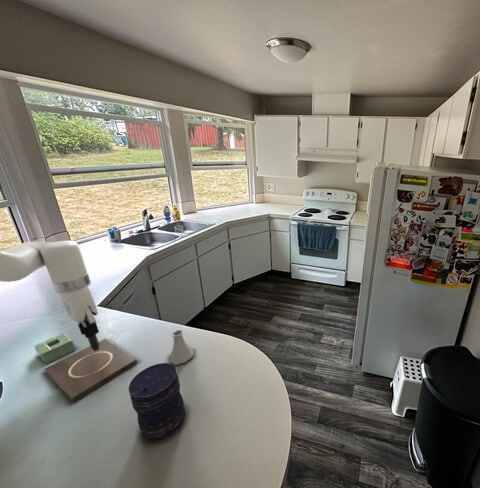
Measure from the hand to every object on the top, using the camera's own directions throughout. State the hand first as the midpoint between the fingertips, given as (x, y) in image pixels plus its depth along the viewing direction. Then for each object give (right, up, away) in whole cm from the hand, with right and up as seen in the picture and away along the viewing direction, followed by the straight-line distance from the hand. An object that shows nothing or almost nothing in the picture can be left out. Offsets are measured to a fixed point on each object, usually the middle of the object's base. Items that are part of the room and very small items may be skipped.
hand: (90, 333), depth 79 cm
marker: (0, -6, +2) cm, 7 cm away
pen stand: (-17, -9, +6) cm, 20 cm away
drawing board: (0, -11, +1) cm, 11 cm away
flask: (+26, -11, +6) cm, 28 cm away
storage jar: (+33, -18, -14) cm, 40 cm away
